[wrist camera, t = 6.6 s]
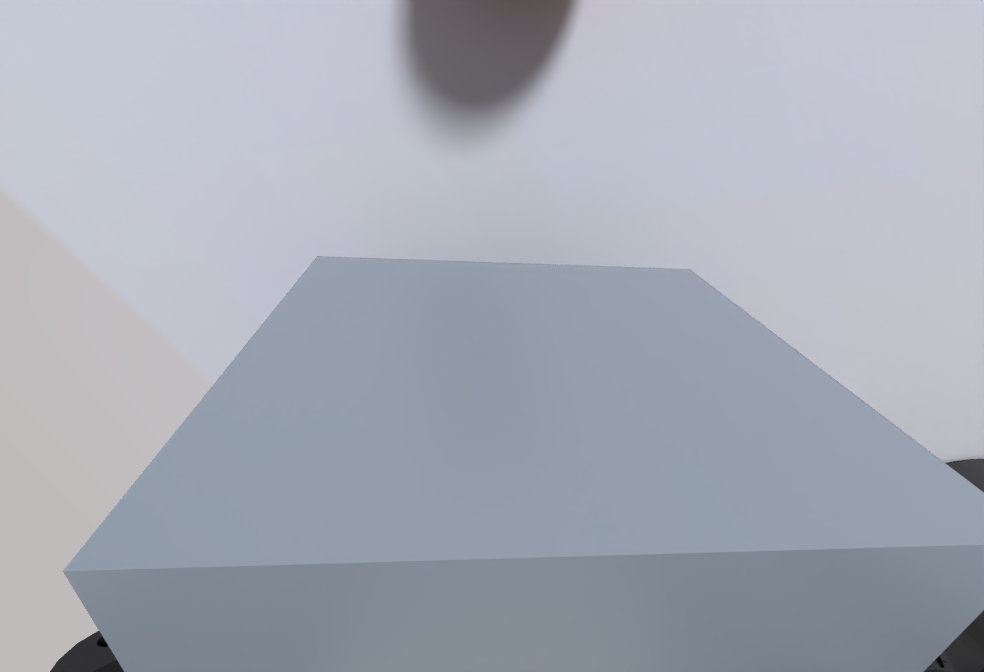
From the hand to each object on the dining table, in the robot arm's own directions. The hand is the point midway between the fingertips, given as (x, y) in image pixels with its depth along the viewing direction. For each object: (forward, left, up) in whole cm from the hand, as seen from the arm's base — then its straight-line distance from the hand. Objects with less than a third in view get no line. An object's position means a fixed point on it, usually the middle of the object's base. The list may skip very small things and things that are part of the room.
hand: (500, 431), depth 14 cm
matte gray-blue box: (0, 0, -1) cm, 1 cm away
